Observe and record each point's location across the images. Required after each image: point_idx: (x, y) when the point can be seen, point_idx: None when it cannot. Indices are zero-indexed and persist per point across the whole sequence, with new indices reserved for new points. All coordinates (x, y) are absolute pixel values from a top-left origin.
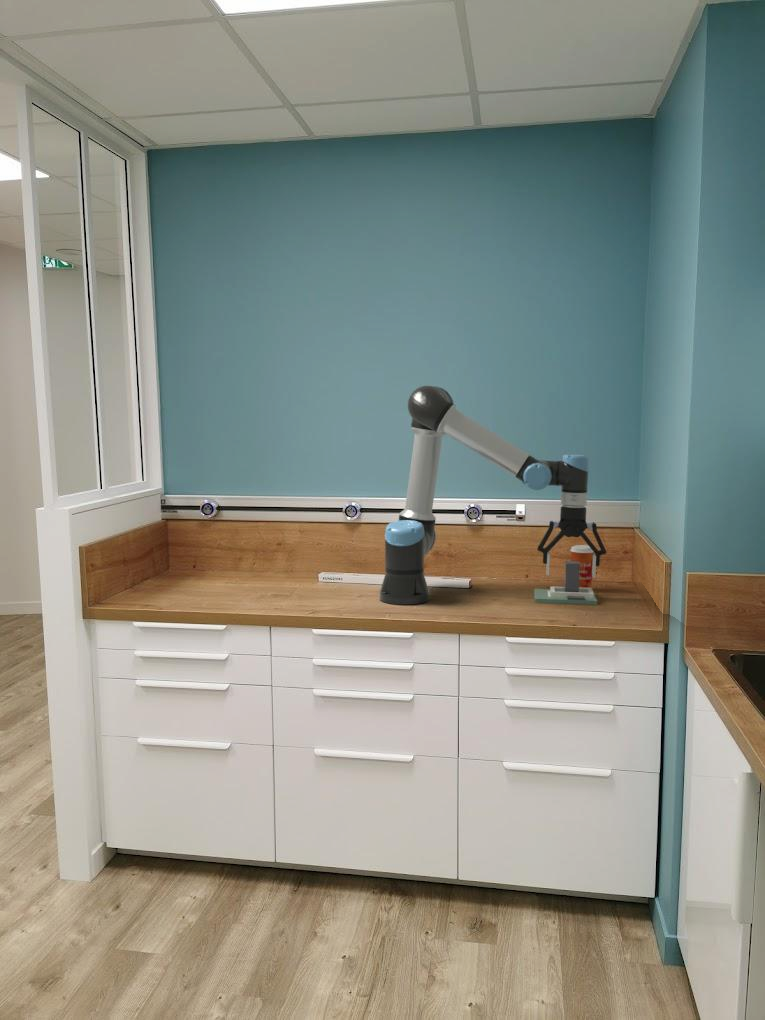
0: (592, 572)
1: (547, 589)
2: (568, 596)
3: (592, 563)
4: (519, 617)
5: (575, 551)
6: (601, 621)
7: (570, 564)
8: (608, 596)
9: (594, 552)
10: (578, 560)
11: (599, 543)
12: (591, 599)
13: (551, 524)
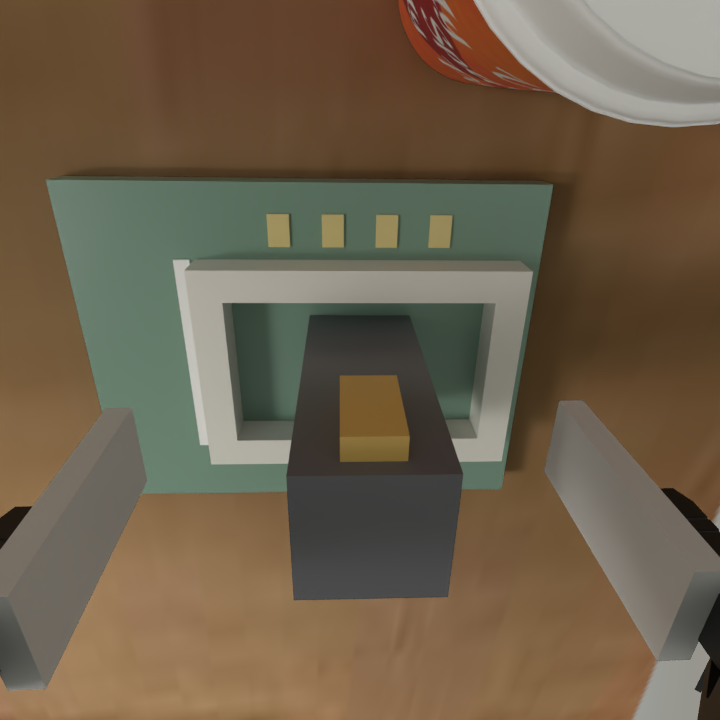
0: (566, 471)
1: (165, 194)
2: None
3: (621, 489)
4: (113, 707)
5: (520, 34)
6: (449, 705)
7: (345, 589)
8: (642, 230)
9: (701, 711)
10: (522, 74)
11: None
12: (474, 462)
13: None
